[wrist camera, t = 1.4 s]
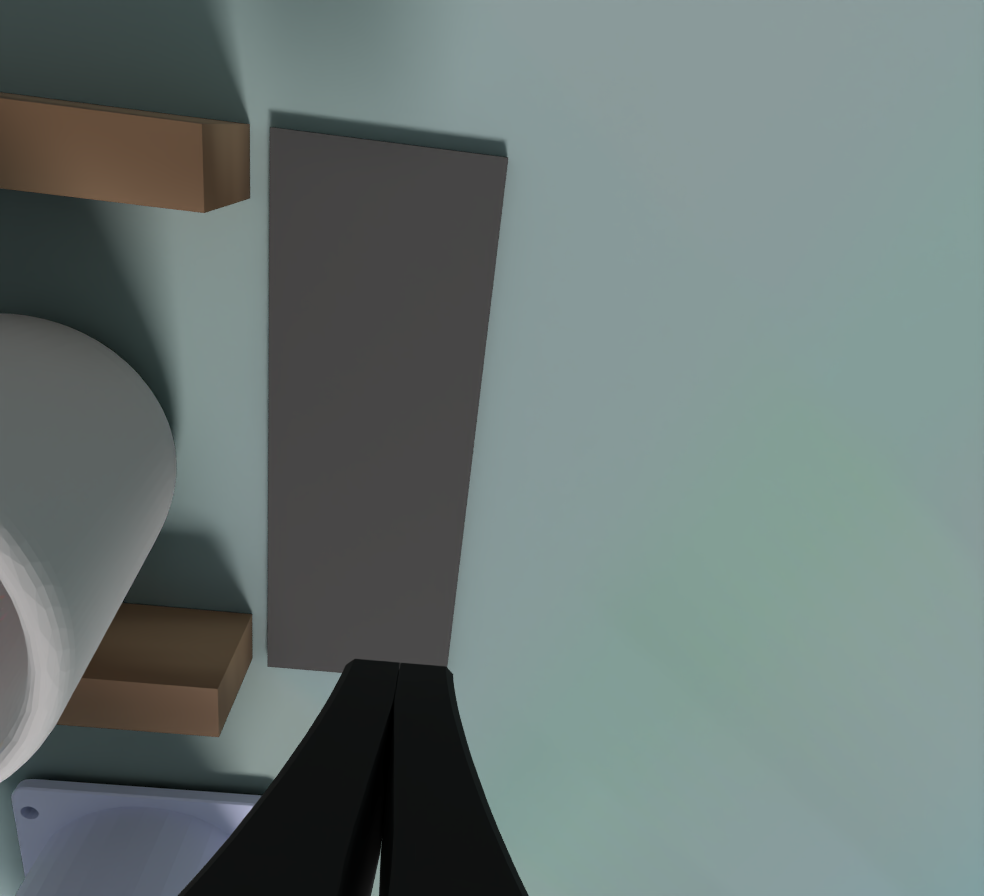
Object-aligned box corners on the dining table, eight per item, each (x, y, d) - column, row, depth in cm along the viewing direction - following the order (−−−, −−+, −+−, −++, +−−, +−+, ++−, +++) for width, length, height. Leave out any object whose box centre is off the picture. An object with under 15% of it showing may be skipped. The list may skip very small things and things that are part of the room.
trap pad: (445, 674, 22) (445, 681, 21) (270, 659, 21) (267, 666, 21) (507, 157, 16) (508, 158, 16) (273, 127, 16) (269, 127, 16)
